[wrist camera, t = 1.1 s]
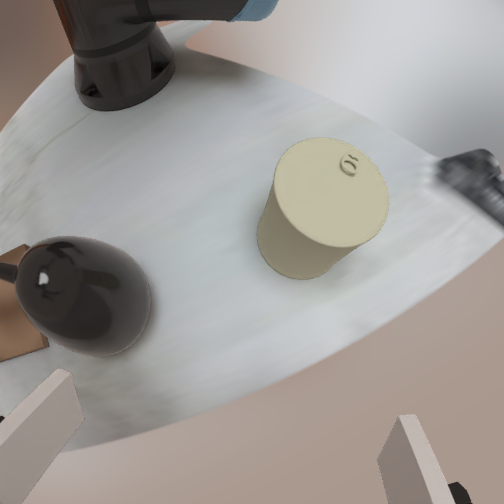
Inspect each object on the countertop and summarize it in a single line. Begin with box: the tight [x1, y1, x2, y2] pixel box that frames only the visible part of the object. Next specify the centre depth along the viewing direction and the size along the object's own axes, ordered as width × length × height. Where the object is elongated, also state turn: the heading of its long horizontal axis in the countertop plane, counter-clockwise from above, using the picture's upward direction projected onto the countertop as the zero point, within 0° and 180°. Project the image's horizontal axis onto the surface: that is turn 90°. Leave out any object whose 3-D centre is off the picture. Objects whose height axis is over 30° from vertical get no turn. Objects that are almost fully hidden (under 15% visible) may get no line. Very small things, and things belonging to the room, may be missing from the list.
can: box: [257, 138, 389, 279], centre depth 27 cm, size 9×9×12 cm
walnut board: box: [0, 244, 49, 362], centre depth 27 cm, size 12×12×1 cm
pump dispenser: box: [0, 236, 151, 357], centre depth 22 cm, size 10×10×15 cm
